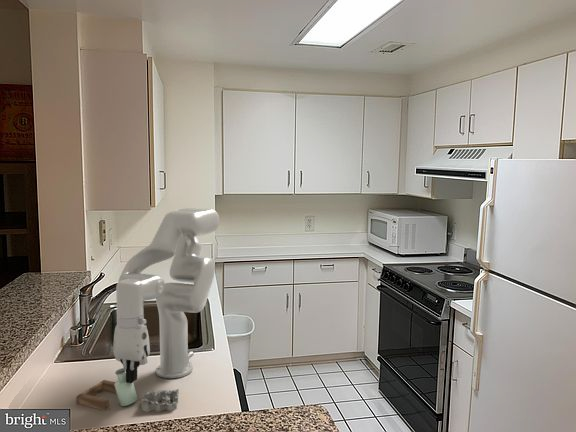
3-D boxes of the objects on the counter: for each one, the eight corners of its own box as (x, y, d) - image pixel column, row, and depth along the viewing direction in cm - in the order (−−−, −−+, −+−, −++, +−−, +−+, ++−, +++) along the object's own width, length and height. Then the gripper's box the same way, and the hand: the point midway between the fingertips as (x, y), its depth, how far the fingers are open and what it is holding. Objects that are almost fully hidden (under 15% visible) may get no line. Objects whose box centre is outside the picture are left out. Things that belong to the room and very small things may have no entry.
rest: (104, 386, 147) (104, 379, 147) (131, 392, 144) (130, 385, 143) (76, 403, 136) (76, 396, 136) (104, 410, 133) (104, 402, 133)
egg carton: (139, 413, 132) (138, 400, 131) (145, 400, 139) (145, 388, 139) (176, 412, 132) (175, 399, 132) (180, 399, 140) (180, 387, 139)
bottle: (127, 397, 140) (119, 367, 139) (141, 396, 138) (132, 365, 138) (116, 406, 135) (107, 375, 135) (130, 405, 134) (121, 373, 133)
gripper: (159, 320, 135) (160, 379, 136) (118, 315, 140) (119, 372, 141) (143, 328, 128) (144, 390, 129) (101, 322, 133) (102, 382, 134)
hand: (131, 380), depth 135 cm, fingers closed
